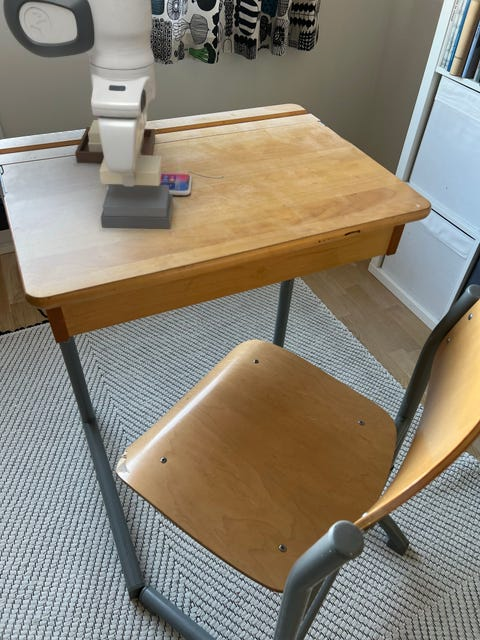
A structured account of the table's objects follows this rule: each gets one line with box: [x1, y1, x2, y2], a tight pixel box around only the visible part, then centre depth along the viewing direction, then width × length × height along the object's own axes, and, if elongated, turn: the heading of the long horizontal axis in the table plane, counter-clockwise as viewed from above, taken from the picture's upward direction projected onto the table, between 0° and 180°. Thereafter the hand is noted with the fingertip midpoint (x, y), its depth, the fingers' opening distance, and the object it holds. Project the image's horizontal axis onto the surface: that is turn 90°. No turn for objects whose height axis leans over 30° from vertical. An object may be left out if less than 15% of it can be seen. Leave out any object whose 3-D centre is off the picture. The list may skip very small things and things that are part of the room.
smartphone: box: [105, 172, 193, 196], centre depth 94 cm, size 7×1×15 cm
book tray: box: [74, 126, 157, 164], centre depth 104 cm, size 14×12×2 cm
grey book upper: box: [102, 184, 170, 217], centre depth 85 cm, size 10×8×2 cm
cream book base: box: [88, 134, 144, 153], centre depth 104 cm, size 10×7×2 cm
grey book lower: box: [100, 194, 174, 230], centre depth 86 cm, size 11×8×2 cm
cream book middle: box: [88, 119, 101, 143], centre depth 102 cm, size 10×6×2 cm
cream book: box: [98, 154, 163, 186], centre depth 81 cm, size 9×6×2 cm, turn 92°
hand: (132, 173), depth 82 cm, fingers closed on cream book, 6 cm apart
